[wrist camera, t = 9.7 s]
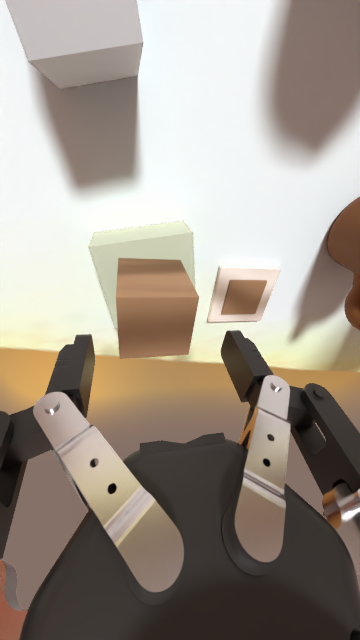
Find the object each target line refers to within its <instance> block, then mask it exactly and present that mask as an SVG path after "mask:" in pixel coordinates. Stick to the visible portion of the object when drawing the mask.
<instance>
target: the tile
mask: <svg viewBox="0 0 360 640" xmlns="http://www.w3.org/2000/svg"><path fill="white" fill-rule="evenodd" d="M279 272H280V269H279V268H278V267H246V266H219V269H218V273H217V278H216V282H215V287H214V291H213V296H212V300H211V305H210V309H209V314H208V318H207V320H208V322H226V321H260V320H261V318H262V315H263V313H264V310H265V308H266V305H267V302H268V300H269V297H270V295H271V292H272V290H273V287H274V285H275V282H276V280H277V277H278V275H279Z"/></svg>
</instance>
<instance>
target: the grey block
mask: <svg viewBox="0 0 360 640" xmlns="http://www.w3.org/2000/svg"><path fill="white" fill-rule="evenodd" d="M5 1H6V4H7V7H8V9H9V12H10V15H11V17H12V20H13V22H14V25H15V28H16V30H17V33H18V36H19V38H20V41H21V43H22V46H23V49H24V51H25V54H26V57H27V59H28V61H29V62H30V63H31V64H32V65H33V66H34V67H36V68H37V69H38V70H39V71H40V72H41V73H42V74H43V75H45V76H46V77H47V78H48V79H49V80H50V81H51V82H53V83H54V84H55V85H56V86H57V87H58V88H59V89H64V88H70V87H76V86H81V85H87V84H93V83H99V82H105V81H111V80H117V79H123V78H129V77H135V76H138V71H139V65H140V59H141V53H142V47H143V38H142V32H141V26H140V19H139V13H138V7H137V1H136V0H5Z"/></svg>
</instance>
